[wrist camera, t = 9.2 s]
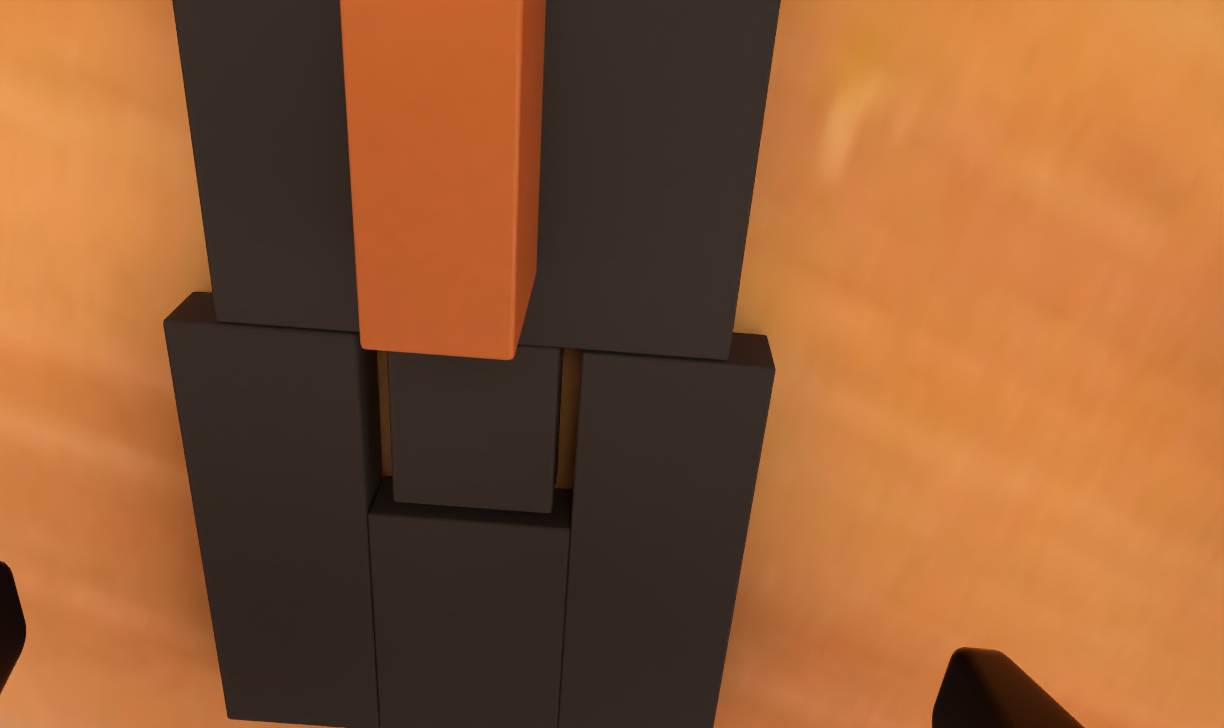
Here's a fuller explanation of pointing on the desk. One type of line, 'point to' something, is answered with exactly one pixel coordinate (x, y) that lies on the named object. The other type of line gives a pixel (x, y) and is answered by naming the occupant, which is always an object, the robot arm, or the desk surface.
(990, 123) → the desk surface
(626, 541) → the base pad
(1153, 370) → the desk surface
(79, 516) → the desk surface
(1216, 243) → the desk surface
